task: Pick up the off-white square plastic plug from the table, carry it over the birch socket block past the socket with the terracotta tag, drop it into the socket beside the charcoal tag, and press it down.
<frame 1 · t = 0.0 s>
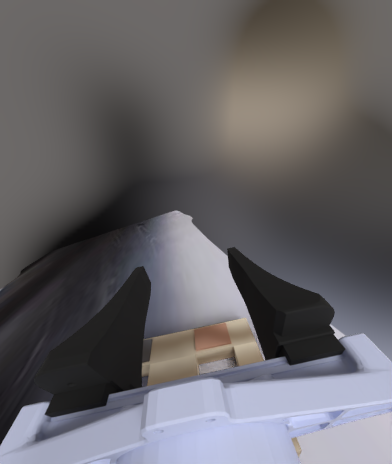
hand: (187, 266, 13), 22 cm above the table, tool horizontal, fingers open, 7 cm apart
socket block: (177, 394, 23), on the table
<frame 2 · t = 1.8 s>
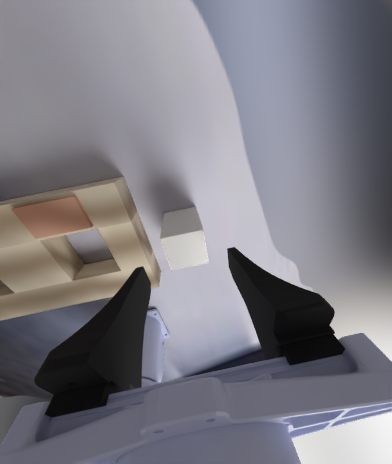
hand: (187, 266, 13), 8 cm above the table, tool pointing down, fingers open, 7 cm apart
socket block: (45, 252, 20), on the table
plug: (183, 223, 20), on the table
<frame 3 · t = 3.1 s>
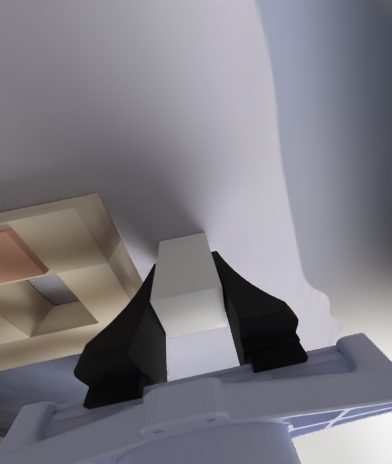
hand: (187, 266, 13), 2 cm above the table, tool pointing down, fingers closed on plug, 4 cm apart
plug: (186, 254, 15), on the table, touching gripper
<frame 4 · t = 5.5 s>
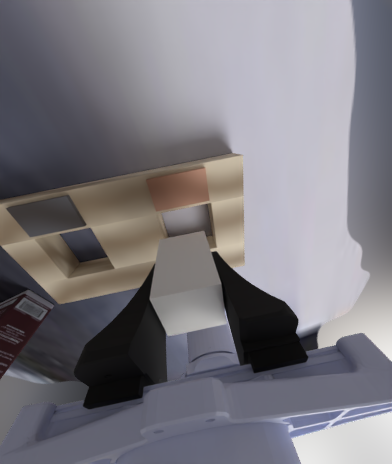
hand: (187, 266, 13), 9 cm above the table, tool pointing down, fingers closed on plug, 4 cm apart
socket block: (139, 231, 21), on the table
plug: (186, 252, 15), point 7 cm above the table, touching gripper
supplement box: (24, 305, 25), on the table
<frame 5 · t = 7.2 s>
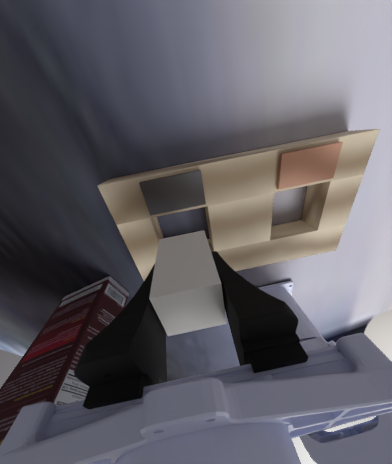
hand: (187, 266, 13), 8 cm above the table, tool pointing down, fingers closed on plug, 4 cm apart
socket block: (233, 214, 20), on the table
plug: (186, 252, 15), point 6 cm above the table, touching gripper
supplement box: (99, 293, 25), on the table
when the fingers open (4 cm above the table, at t = 8.4 s): plug drops 2 cm, resting in socket block.
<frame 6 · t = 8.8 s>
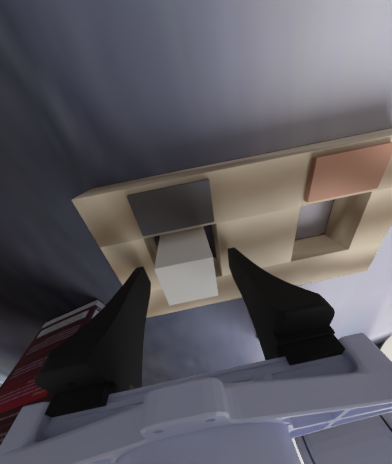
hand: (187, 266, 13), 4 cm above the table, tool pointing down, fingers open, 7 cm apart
socket block: (244, 228, 17), on the table
plug: (185, 239, 17), resting in socket block
supplement box: (86, 317, 21), on the table
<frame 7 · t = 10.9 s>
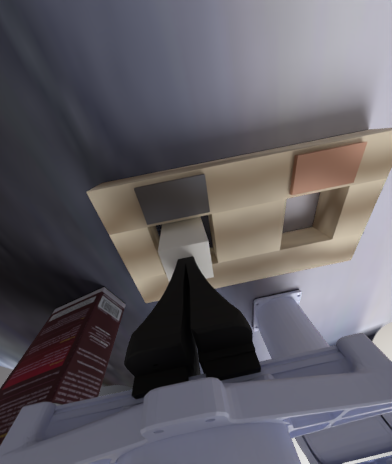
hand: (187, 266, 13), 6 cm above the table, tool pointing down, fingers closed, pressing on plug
socket block: (238, 221, 18), on the table
plug: (184, 230, 18), resting in socket block, touching gripper
supplement box: (93, 304, 23), on the table
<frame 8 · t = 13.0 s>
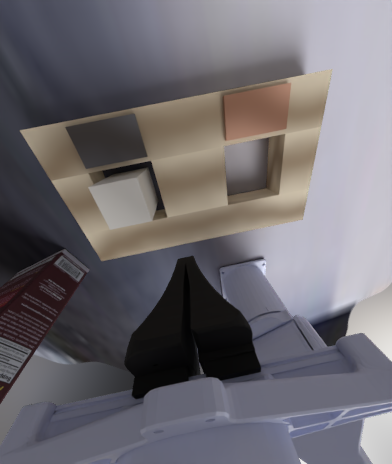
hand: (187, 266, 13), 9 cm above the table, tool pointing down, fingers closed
socket block: (190, 179, 19), on the table
plug: (137, 188, 19), resting in socket block
supplement box: (57, 269, 23), on the table
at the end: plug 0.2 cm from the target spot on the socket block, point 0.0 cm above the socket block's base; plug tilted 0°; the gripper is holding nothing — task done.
